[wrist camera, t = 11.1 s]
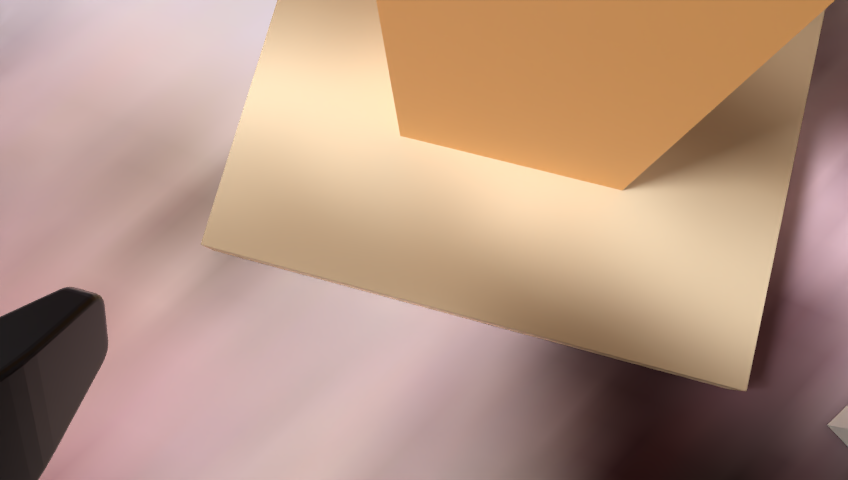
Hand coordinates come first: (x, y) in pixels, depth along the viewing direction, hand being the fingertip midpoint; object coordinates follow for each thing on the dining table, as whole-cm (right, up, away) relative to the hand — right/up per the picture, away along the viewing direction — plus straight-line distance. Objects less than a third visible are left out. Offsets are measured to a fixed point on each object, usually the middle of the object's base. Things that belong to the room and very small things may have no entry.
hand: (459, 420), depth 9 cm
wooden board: (+2, +6, +9) cm, 11 cm away
